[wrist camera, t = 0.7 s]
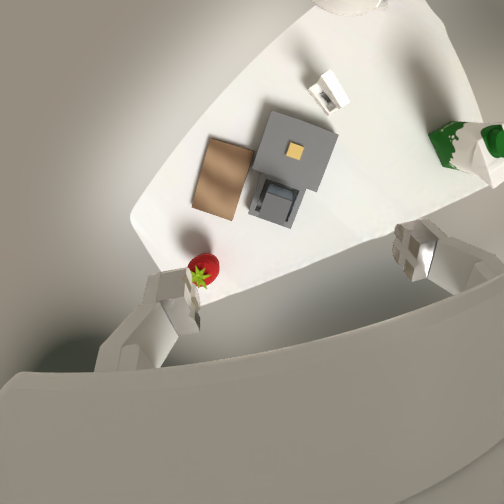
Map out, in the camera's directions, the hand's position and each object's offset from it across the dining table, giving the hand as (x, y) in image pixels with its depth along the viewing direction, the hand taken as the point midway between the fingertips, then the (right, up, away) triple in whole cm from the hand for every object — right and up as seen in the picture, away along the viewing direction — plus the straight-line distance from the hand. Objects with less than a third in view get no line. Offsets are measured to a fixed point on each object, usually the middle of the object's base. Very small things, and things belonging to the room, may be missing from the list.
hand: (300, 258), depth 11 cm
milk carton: (+37, +22, +33) cm, 54 cm away
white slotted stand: (+11, +28, +34) cm, 45 cm away
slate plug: (+3, +10, +43) cm, 44 cm away
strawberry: (-11, -1, +50) cm, 51 cm away
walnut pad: (-7, +14, +43) cm, 45 cm away
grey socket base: (+5, +15, +40) cm, 43 cm away
